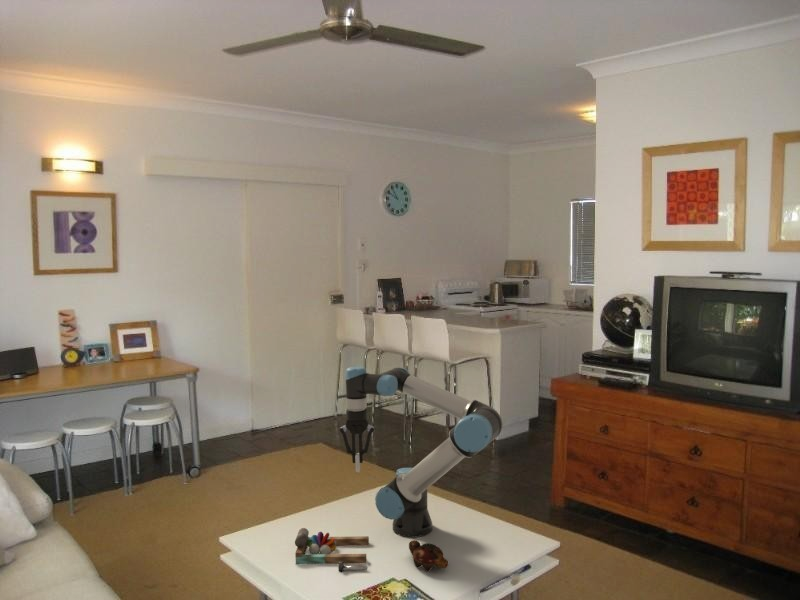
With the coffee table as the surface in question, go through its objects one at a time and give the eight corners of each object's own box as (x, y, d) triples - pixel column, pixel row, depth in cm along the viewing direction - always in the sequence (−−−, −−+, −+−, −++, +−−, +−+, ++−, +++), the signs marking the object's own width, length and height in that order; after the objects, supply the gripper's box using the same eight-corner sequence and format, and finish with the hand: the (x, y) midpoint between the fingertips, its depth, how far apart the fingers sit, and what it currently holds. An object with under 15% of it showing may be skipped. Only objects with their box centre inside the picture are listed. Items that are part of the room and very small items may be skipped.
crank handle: (367, 569, 223) (367, 560, 223) (367, 571, 221) (367, 563, 221) (338, 569, 223) (338, 560, 223) (338, 572, 221) (338, 563, 221)
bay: (368, 543, 243) (368, 522, 243) (366, 563, 227) (365, 541, 227) (300, 543, 243) (300, 523, 243) (293, 564, 227) (292, 542, 227)
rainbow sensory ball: (331, 558, 232) (331, 538, 231) (305, 556, 234) (304, 536, 233) (339, 548, 240) (338, 528, 239) (313, 545, 242) (313, 526, 241)
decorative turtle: (414, 556, 232) (415, 534, 231) (453, 569, 224) (455, 546, 224) (400, 566, 224) (401, 543, 223) (440, 580, 216) (442, 556, 216)
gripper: (374, 406, 250) (375, 467, 252) (339, 406, 250) (341, 468, 252) (373, 410, 243) (375, 474, 245) (337, 411, 243) (339, 474, 245)
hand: (357, 471), depth 248 cm, fingers closed
